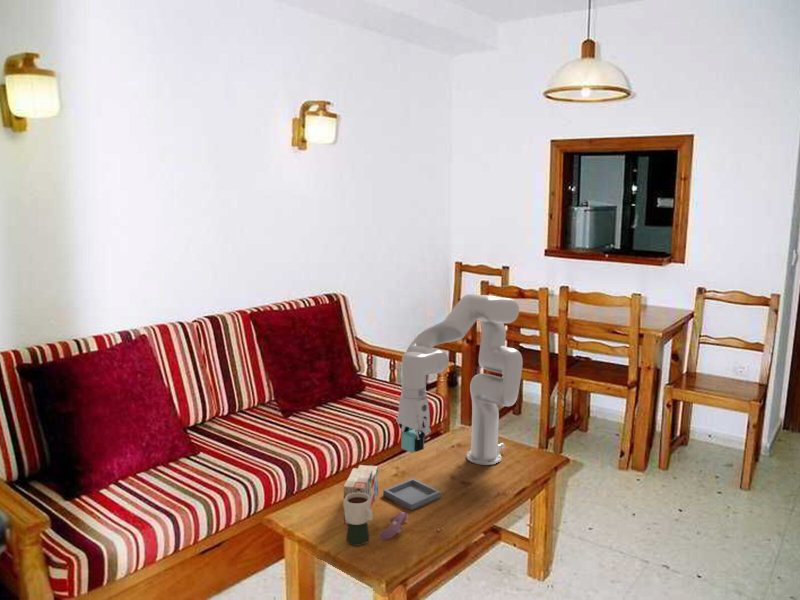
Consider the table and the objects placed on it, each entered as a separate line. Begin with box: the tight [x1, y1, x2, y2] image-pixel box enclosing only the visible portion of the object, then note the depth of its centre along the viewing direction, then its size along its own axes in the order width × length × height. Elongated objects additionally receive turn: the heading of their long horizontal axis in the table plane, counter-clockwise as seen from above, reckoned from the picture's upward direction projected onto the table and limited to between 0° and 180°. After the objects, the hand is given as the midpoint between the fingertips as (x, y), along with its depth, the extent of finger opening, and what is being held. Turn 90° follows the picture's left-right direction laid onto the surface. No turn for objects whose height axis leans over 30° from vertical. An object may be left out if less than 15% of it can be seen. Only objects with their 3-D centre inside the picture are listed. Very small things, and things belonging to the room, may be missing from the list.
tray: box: [382, 477, 442, 512], centre depth 208 cm, size 13×13×2 cm
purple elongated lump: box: [379, 510, 409, 541], centre depth 186 cm, size 10×5×7 cm, turn 160°
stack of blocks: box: [343, 464, 379, 525], centre depth 200 cm, size 21×6×12 cm, turn 171°
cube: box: [401, 429, 425, 454], centre depth 205 cm, size 5×5×5 cm
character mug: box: [342, 492, 373, 546], centre depth 181 cm, size 11×7×13 cm, turn 49°
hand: (412, 447), depth 205 cm, fingers closed on cube, 4 cm apart
